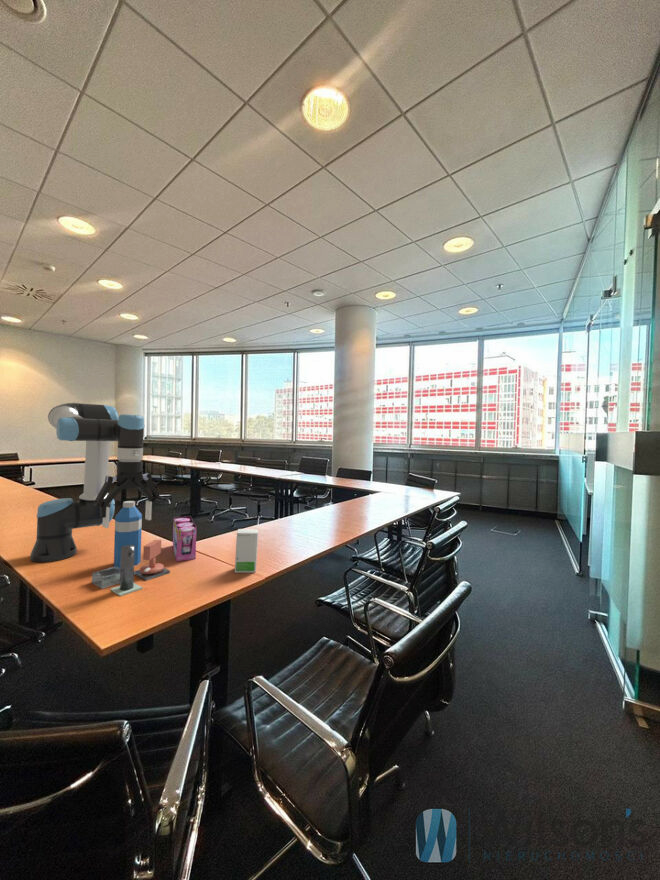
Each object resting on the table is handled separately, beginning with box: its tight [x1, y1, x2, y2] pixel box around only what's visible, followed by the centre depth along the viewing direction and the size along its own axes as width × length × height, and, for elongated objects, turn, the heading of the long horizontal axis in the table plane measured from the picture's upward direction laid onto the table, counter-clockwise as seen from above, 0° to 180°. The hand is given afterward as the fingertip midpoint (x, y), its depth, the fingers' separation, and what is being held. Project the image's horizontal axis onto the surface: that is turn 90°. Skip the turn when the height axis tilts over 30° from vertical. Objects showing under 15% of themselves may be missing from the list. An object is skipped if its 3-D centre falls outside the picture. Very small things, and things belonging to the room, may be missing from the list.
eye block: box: [91, 566, 120, 590], centre depth 121 cm, size 8×8×4 cm
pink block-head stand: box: [139, 539, 165, 574], centre depth 129 cm, size 8×8×10 cm
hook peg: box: [119, 545, 135, 591], centre depth 116 cm, size 6×4×14 cm
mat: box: [110, 582, 143, 597], centre depth 116 cm, size 7×7×1 cm
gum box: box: [172, 515, 197, 562], centre depth 154 cm, size 24×8×14 cm, turn 28°
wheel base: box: [134, 567, 171, 581], centre depth 130 cm, size 9×9×1 cm
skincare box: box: [234, 528, 259, 574], centre depth 136 cm, size 8×7×16 cm
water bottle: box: [113, 500, 143, 568], centre depth 138 cm, size 9×9×25 cm
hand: (127, 523), depth 116 cm, fingers open, 13 cm apart
